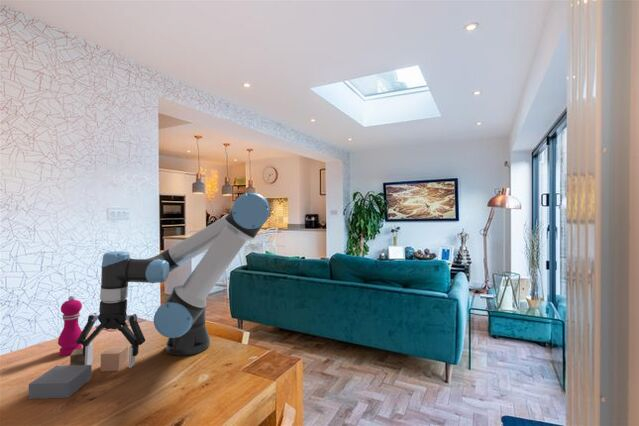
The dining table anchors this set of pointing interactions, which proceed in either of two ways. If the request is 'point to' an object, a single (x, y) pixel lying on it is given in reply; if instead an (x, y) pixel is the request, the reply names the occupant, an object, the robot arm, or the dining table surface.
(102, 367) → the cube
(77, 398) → the dining table surface
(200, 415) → the dining table surface
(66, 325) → the pepper mill
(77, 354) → the walnut block
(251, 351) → the dining table surface
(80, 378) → the pedestal
